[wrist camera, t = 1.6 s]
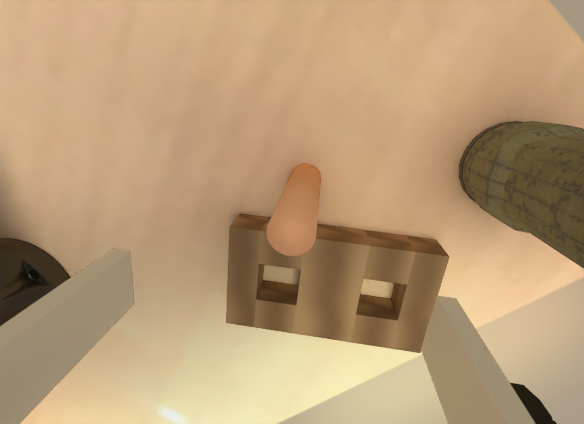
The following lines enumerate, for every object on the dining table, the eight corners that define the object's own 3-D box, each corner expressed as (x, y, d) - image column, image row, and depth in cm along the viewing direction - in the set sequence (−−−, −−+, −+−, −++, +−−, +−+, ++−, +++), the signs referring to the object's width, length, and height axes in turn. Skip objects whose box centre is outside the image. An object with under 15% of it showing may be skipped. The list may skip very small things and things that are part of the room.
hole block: (235, 302, 41) (226, 322, 37) (239, 213, 37) (229, 226, 33) (411, 328, 39) (420, 353, 36) (436, 239, 35) (449, 256, 32)
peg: (289, 191, 35) (264, 252, 21) (292, 162, 34) (268, 206, 20) (318, 194, 35) (313, 259, 21) (322, 165, 34) (319, 213, 20)
